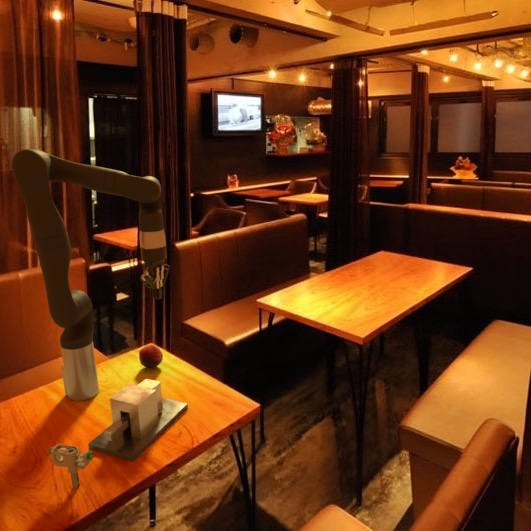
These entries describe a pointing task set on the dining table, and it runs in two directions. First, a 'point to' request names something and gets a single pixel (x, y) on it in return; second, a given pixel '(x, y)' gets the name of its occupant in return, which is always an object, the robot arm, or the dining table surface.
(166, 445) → the dining table surface
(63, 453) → the mechanical component
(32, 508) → the dining table surface
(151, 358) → the fruit
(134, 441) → the shaft housing
